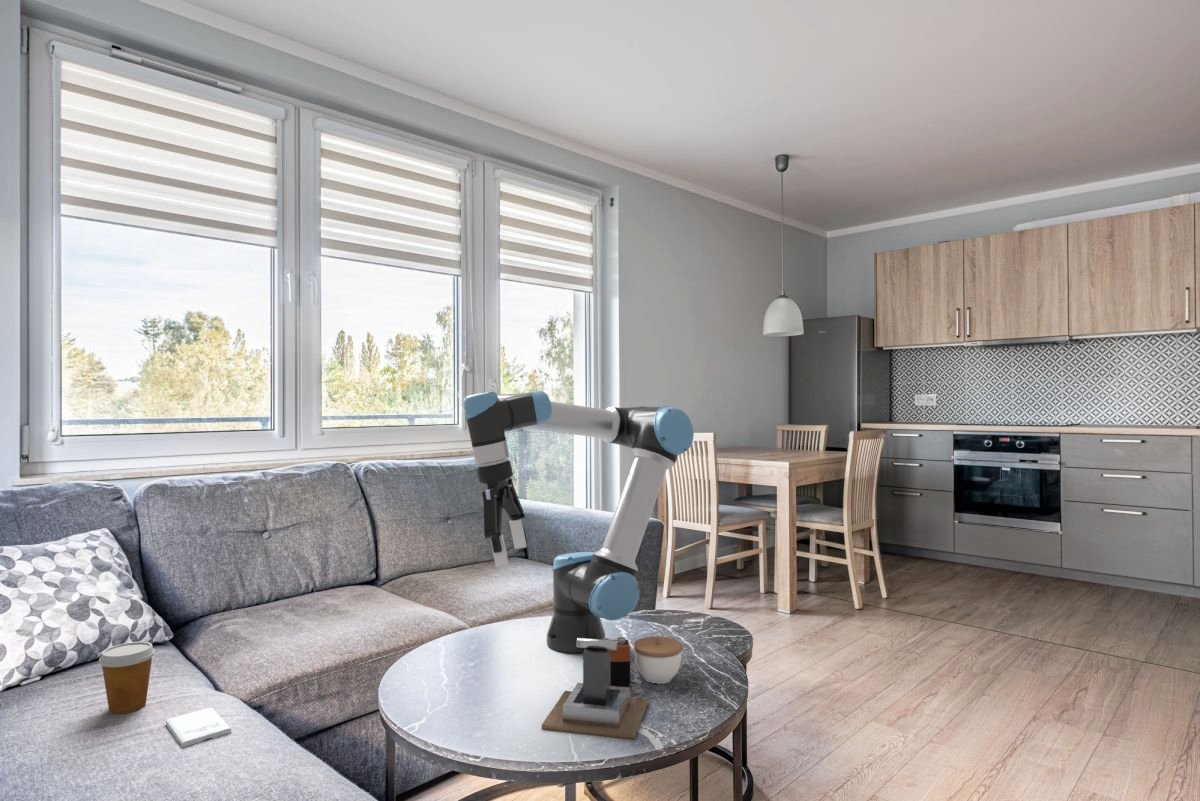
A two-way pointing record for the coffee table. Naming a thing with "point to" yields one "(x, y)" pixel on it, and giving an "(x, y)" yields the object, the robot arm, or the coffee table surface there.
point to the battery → (620, 663)
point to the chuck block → (598, 714)
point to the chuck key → (596, 670)
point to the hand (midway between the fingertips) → (512, 556)
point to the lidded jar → (658, 658)
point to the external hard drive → (197, 726)
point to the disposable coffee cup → (127, 675)
